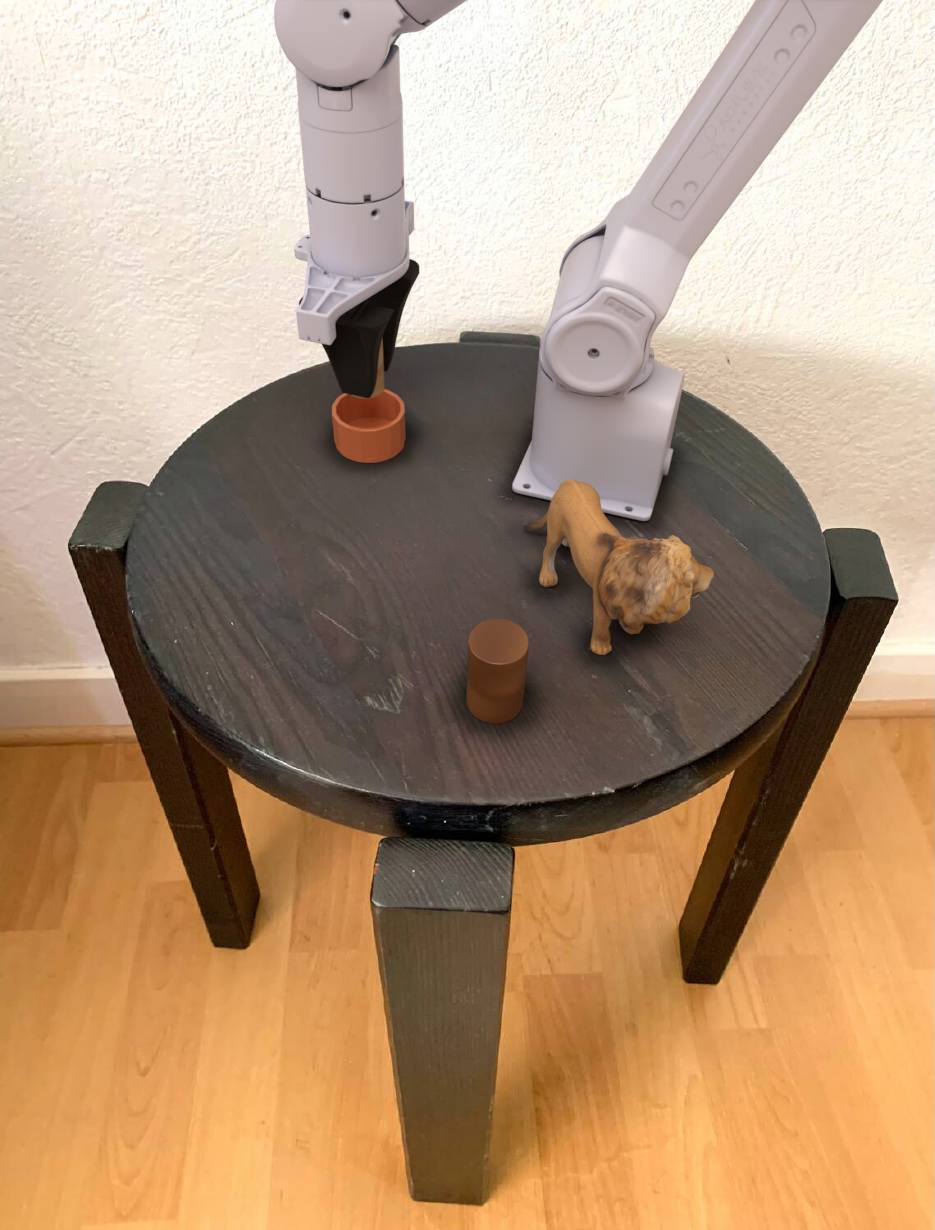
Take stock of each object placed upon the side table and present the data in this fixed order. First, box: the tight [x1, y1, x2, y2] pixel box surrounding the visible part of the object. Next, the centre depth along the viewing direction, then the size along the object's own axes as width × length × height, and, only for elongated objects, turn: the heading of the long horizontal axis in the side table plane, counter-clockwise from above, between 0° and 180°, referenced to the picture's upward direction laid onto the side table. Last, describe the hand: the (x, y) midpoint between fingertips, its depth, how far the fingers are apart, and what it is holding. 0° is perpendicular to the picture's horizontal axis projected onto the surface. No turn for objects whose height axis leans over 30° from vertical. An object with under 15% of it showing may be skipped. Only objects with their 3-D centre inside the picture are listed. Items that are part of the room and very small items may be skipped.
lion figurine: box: [522, 479, 715, 656], centre depth 61 cm, size 15×5×9 cm, turn 33°
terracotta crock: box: [331, 388, 407, 464], centre depth 73 cm, size 5×5×3 cm
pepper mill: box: [352, 337, 386, 399], centre depth 69 cm, size 3×3×5 cm
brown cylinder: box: [465, 618, 530, 725], centre depth 57 cm, size 3×3×5 cm
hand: (366, 379), depth 70 cm, fingers closed on pepper mill, 2 cm apart
